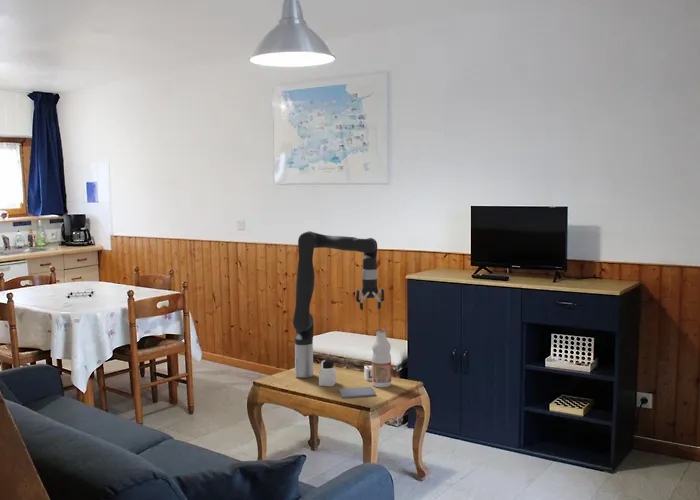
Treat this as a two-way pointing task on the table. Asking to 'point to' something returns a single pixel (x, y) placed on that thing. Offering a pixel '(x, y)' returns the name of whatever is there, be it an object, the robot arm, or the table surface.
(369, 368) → the letter cube
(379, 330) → the white plastic bottle
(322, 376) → the medicine bottle
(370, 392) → the slate mat
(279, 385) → the table surface
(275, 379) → the table surface
